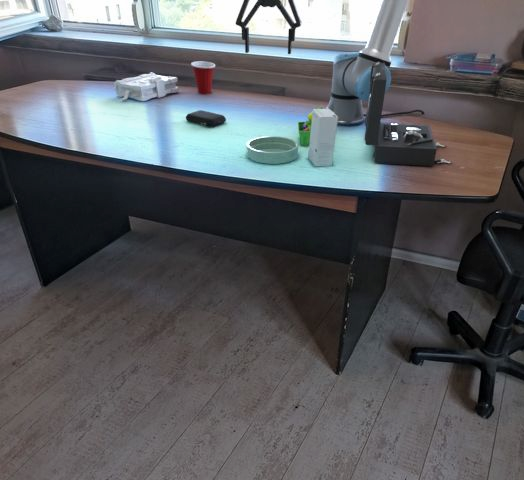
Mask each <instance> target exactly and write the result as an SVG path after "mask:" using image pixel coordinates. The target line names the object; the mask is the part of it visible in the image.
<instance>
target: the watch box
mask: <svg viewBox="0 0 524 480" xmlns="http://www.w3.org/2000/svg"><path fill="white" fill-rule="evenodd" d="M386 82H387V78H386V69H385V63H379V62H378V63H377V62H376V63H374V64H373V65H372V68H371V76H370V89H369V97H368V101H367V105H366V111H365V114H366V116H365V121H364V126H365V132H364V144H365V145H366V146H373V159H374V163H376V164H387V165H404V166H418V167H419V166H420V167H432V166H433V165H434V164H435V163H436V164H442V163H446V164H451V161H450V160H449V161H448V160H445V159H444V158H442V159H441V158H436V154H437V150H438V148H437V146H440V147H441V148H442V147H443V148H444V147H445V144H443V145H442V144H440V142H435V139H434V136H433V132H432V129H431V125H430V124H419V123H417V124H415V123H399V122H398V123H397V122H381V120H382V117H381V115H383V107H384V101H385V94H386V93H385V88H386Z"/></svg>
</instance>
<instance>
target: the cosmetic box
mask: <svg viewBox="0 0 524 480" xmlns="http://www.w3.org/2000/svg"><path fill="white" fill-rule="evenodd" d="M312 112H313V113H312ZM312 112H311V113H312V124H311V133H310V144H309V145H308V155H307V158H308V159H309V161H311V163H312V164H313V166H314V167H328V166H329V167H331V166H333V161H334V160H333V159H334V154H335V153H334V152H335V144H336V136H337V130H338V129H337V128H338V125H337V122H338V117H337V116H336V115H335V113H334V112H332V111H331V110H330V109H326V108H324V109H316V108H313V109H312Z"/></svg>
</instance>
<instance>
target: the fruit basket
mask: <svg viewBox="0 0 524 480" xmlns="http://www.w3.org/2000/svg"><path fill="white" fill-rule="evenodd" d="M315 109H325V108H324V107H322V106H318V107H316V108H315ZM312 113H313V111H311V112H309V114H308V116H307V119H308V120H306V121H298V122H297V127H298V128H297V129H298V134H299V139H300V146H309V144H310V133H311V124H312Z"/></svg>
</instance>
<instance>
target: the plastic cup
mask: <svg viewBox="0 0 524 480" xmlns="http://www.w3.org/2000/svg"><path fill="white" fill-rule="evenodd" d="M190 65H191V67H192V70H193V73H194V74H193V75H194V80H195V84H196V89H197V92H198V93H199V95H200V94H201V95H209V94H211V93H212V85H213V78H214V77H213V75H214V71H215V70H214V69H215V67H216V64H215V63H214V62H210V61H204V60H200V61H199V60H198V61H192V62H191V64H190Z"/></svg>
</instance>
